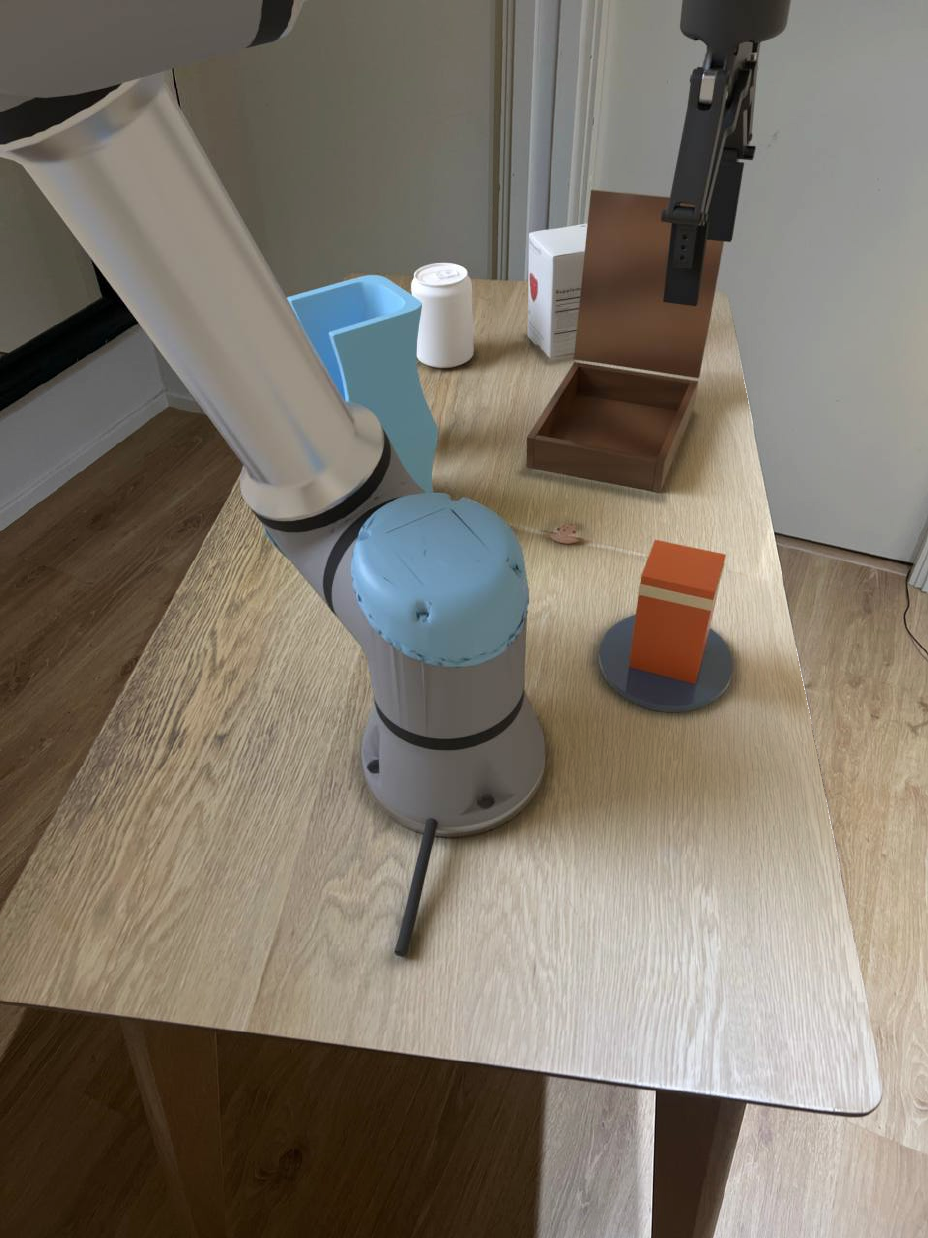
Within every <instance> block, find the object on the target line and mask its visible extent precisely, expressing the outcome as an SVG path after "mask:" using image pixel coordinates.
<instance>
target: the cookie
mask: <svg viewBox="0 0 928 1238" xmlns="http://www.w3.org/2000/svg"><path fill="white" fill-rule="evenodd" d="M576 530H577V525H575V524H573V523H565V524H562V525H561V526H558V527H556V531H557V532H555V531H547V534H548V536H549V538H551V539H552V540H553V541H555V542H557V543H561V544H566V545H567V544H575V543H578V542H580V541H582V540H583V538H582V537H577V536H572V535H574V534H576V532H577V531H576Z"/></svg>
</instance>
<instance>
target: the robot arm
mask: <svg viewBox="0 0 928 1238" xmlns="http://www.w3.org/2000/svg"><path fill="white" fill-rule="evenodd" d="M309 1H311V0H0V158H3V159H6V160H10V161H14V162H16V163H18V164H19V165H20V166H21V165H22V166H23V168H24V169H25V171H26V172H27V174H28V175H29V176H30V177H31V179H32V181H33V182H34V183H35V184H36V186H37V187H38V188H39V190H40V191H41V192H42V194H43V195H44V197H45V198H46V199H47V200H48V202H49V203H50V204H51V206H52V207H53V209H54V211H56V213H57V214H58V215H59V217H60V218H61V220H62V221H63V223H64V224H65V225H66V226H67V228H68V229H69V231H70V232H71V233H72V234H73V236H74V237H75V239H76V240H77V242H78V243H79V244H80V245H81V247H82V248H83V249H84V251H85V252H86V253H87V255H88V257H90V259H91V260H92V262H93V263H94V265H95V266H96V267H97V268H98V269H99V271H100V272H101V274H102V275H103V277H104V278H105V279H106V281H107V282H108V283H109V285H110V286H111V288H112V289H113V290H114V291H115V293H116V294H117V296H118V297H119V298H120V300H121V301H122V302H123V303H124V305H125V306H126V308H127V309H128V311H129V312H130V314H132V316H133V317H134V318H135V320H136V322H137V323H138V324H139V325H140V327H141V328H142V329H143V331H144V332H145V333H146V335H147V336H148V337H149V339H150V341H151V342H152V343H153V344H154V346H155V347H156V349H157V350H158V351H159V352H160V354H161V356H162V357H163V358H164V360H166V362H167V363H168V365H169V366H170V367H171V369H172V370H173V371H174V373H175V374H176V375H177V377H178V378H179V379H180V381H181V382H182V384H183V385H184V386H185V388H186V389H187V390H188V392H189V394H191V396H192V398H194V400H195V401H196V403H197V404H198V406H199V407H200V408H201V410H202V411H203V413H204V414H205V415H206V416H207V418H208V419H209V420H210V422H211V423H212V424H213V426H214V427H215V428H216V430H217V431H218V432H219V434H220V435H221V437H222V438H223V439H224V441H225V442H226V444H227V445H228V446H229V448H230V449H231V450H232V451H233V453H234V454H235V456H236V457H237V458H238V460H239V461H240V463H241V464H242V468H241V472H240V476H239V489H240V494H241V496H242V498H243V501H244V502H245V504H246V505H247V507H248V508H249V509H250V510H251V512H252V513H253V514H254V515H255V517H256V518H257V519H258V521H259V523H261V525H262V527H263V530H264V533H265V535H266V537H267V539H269V541H270V542H271V544H272V545H273V546H274V547H275V549H277V551H279V552H280V554H282V556H284V557H285V558H286V559H287V560H289V561H290V563H291V565H293V566H294V567H295V569H296V571H298V573H299V574H300V576H302V577H303V578H304V580H305V581H306V582H307V583H308V584H309V586H310V587H311V588H312V589H313V590H314V592H315V593H316V594H317V595H318V597H319V598H320V599H321V600H322V601H323V602H324V604H325V605H326V607H328V608H329V611H331V612H332V614H333V615H334V616H335V617H336V618H337V620H339V622H340V623H341V624H342V626H343V627H344V628H345V630H347V632H348V633H349V634H350V636H351V637H352V638H353V639H354V640H355V641H356V643H357V644H358V645H359V647H360V648H361V650H362V652H363V655H364V656H365V657H366V660H367V665H368V670H369V677H370V683H371V689H372V695H373V705H372V707H371V710H370V714H369V717H368V718H367V723H366V726H365V729H364V732H363V735H362V740H361V751H360V752H361V754H360V755H361V756H360V761H361V769H362V775H363V779H364V784H365V785H366V789H367V791H368V793H369V796H370V797H371V798H372V800H373V801H374V803H375V805H377V807H378V808H379V809H380V810H381V811H382V812H383V813H384V814H385V815H386V816H388V817H389V818H390V819H391V820H393V821H394V822H396V823H398V824H399V825H401V826H403V827H405V828H407V829H410V830H412V831H415V832H418V833H421V834H422V837H421V841H420V846H419V849H418V853H417V859H416V862H415V866H414V870H413V875H412V879H411V882H410V883H411V884H410V887H409V892H408V896H407V900H406V905H405V909H404V912H403V913H404V914H403V918H402V922H401V926H400V930H399V934H398V938H397V940H396V944H395V949H394V954H395V955H396V956H398V957H401V958H405V957H406V956H408V952H409V950H410V949H409V948H410V945H411V941H412V937H413V933H414V928H415V924H416V920H417V916H418V911H419V908H420V902H421V898H422V894H423V888H424V885H425V879H426V876H427V872H428V867H429V863H430V858H431V854H432V850H433V846H434V842H435V837H444V838H457V837H458V838H459V837H467V836H473V835H476V834H482V833H484V832H488V831H491V830H493V829H495V828H497V827H500V826H502V825H503V824H505V823H507V822H509V821H511V820H512V819H513V818H515V817H516V816H517V815H518V814H520V813H521V812H522V811H523V810H524V809H525V808H526V807H527V806H528V805H529V804H530V803H531V801H532V800H533V799H534V797H535V795H536V794H537V792H538V790H539V788H540V787H541V784H542V781H543V778H544V774H545V769H546V757H547V755H546V752H547V751H546V741H545V735H544V730H543V728H542V727H543V726H542V725H541V722H540V720H539V717H538V715H537V714H536V713H535V710H534V708H533V705H532V703H531V701H530V698H529V697H528V695H527V693H526V690H525V681H526V679H525V678H526V654H527V651H526V650H527V629H528V628H527V626H528V625H527V623H528V613H529V612H528V607H529V603H530V587H529V581H528V578H527V569H526V562H525V556H524V550H523V548H522V546H521V544H520V541H519V538H518V537H517V535H516V534H515V532H514V530H513V529H512V528H511V526H509V524H508V523H507V522H506V521H505V520H504V518H502V517H501V516H500V515H499V514H498V513H496V512H495V511H494V510H492V509H491V508H489V507H488V506H485V505H484V504H482V503H480V502H478V501H476V500H473V499H471V498H469V497H465V496H463V497H461V498H460V499H458V500H452V498H451V495H450V494H449V493H445V492H433V493H426V492H425V491H424V490H423V489H422V488H421V487H420V486H419V485H418V484H417V483H416V482H415V481H414V480H413V479H412V477H411V476H410V475H409V474H408V472H407V471H406V469H405V468H404V466H403V464H402V462H401V460H400V459H399V457H398V455H397V453H396V451H395V449H394V447H393V446H392V444H391V442H390V440H389V438H388V436H387V435H386V433H385V431H384V429H383V427H382V425H381V424H380V422H379V420H378V418H377V417H376V416H375V414H374V413H373V412H371V411H370V410H369V409H367V408H366V407H364V406H362V405H359V404H357V403H353V402H347V401H344V399H343V397H342V396H341V394H340V392H339V390H338V389H337V387H336V385H335V383H334V381H333V380H332V378H331V376H330V374H329V373H328V371H327V369H326V367H325V365H324V364H323V362H322V360H321V358H320V357H319V355H318V353H317V351H316V349H315V348H314V346H313V344H312V342H311V341H310V339H309V337H308V335H307V333H306V332H305V330H304V328H303V326H302V324H301V323H300V321H299V319H298V317H297V316H296V314H295V312H294V310H293V308H292V307H291V305H290V303H289V301H288V300H287V296H286V294H285V293H284V291H283V289H282V287H281V285H280V284H279V282H278V280H277V278H276V277H275V275H274V273H273V271H272V269H271V268H270V266H269V264H268V262H267V261H266V258H265V257H264V255H263V253H262V251H261V250H260V248H259V246H258V244H257V243H256V241H255V239H254V238H253V236H252V233H251V232H250V230H249V229H248V226H247V224H246V223H245V221H244V219H243V218H242V216H241V214H240V212H239V210H238V209H237V207H236V205H235V203H234V202H233V200H232V198H231V196H230V194H229V192H228V191H227V190H226V188H225V185H224V184H223V182H222V180H221V178H220V177H219V175H218V173H217V172H216V170H215V168H214V166H213V164H212V162H211V161H210V159H209V157H208V155H207V154H206V152H205V150H204V148H203V146H202V145H201V143H200V141H199V139H198V138H197V136H196V134H195V132H194V130H193V128H192V127H191V125H190V122H189V121H188V120H187V118H186V116H185V114H184V112H183V111H182V109H181V107H180V105H179V104H178V102H177V100H176V98H175V96H174V95H173V93H172V92H171V89H170V88H169V86H168V84H167V83H166V81H165V74H164V73H165V72H166V71H170V70H174V69H176V68H180V67H185V66H188V65H191V64H194V63H198V62H201V61H205V60H209V59H211V58H215V57H219V56H222V55H226V54H229V53H232V52H236V51H240V50H243V49H248V48H252V47H256V46H262V45H265V44H268V43H273V42H275V41H278V40H282V39H284V38H286V37H287V36H288V35H289V34H290V32H292V31H293V28H294V26H295V24H296V22H297V20H298V17H299V14H300V12H301V10H302V8H303V6H304V5H303V4H304V3H305V2H309ZM681 1H682V2H681V9H680V10H681V11H680V20H679V21H680V22H679V30H680V32H681V33H682V35H683V36H685V37H686V38H687V39H690V40H692V41H701V42H702V43H704V44H705V46H706V52H705V53H704V59H703V61H702V62H703V63H702V66H697V67H696V68H693V70H692V73H691V74H690V77H689V92H688V99H687V107H686V112H685V117H684V123H683V127H682V132H681V139H680V144H679V148H678V154H677V159H676V164H675V170H674V174H673V179H672V185H671V190H670V195H669V196H670V200H669V205H668V210H662V216H661V221H662V222H667V223H672V225H671V234H670V243H669V252H668V261H667V270H666V280H665V289H664V298H663V302H667V303H675V304H682V305H690V306H696V305H697V304H698V300H699V292H700V285H701V278H702V271H703V263H704V256H705V249H706V242H707V240H716V241H724V243H725V242H727V243H731V242H732V240H733V237H734V231H735V225H736V217H737V213H738V212H737V211H738V207H739V199H740V194H741V193H740V192H741V186H742V179H743V173H744V167H745V162H743V161H754V158H755V154H756V147H757V146H756V145H750V144H751V142H752V140H753V136H754V134H753V127H754V126H753V124H754V114H755V113H754V111H755V102H756V90H757V79H758V78H757V77H758V71H759V70H758V69H759V55H760V48H761V43H762V42H765V41H769V40H773V39H775V38H777V37H778V36H780V35H781V34H783V33H784V31H785V30H786V28H787V24H788V20H789V13H790V8H791V4H792V3H791V2H792V0H681ZM739 160H743V161H739ZM684 203H687V204H693V205H694V206H695V207H687V206H683V204H684Z"/></svg>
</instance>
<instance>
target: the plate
mask: <svg viewBox="0 0 928 1238" xmlns="http://www.w3.org/2000/svg"><path fill="white" fill-rule="evenodd" d="M635 617H636V614H634V615H630V616H628V617H625V618H623V619H622V620H619V621H618V622H616V623H615V624H614V625H612V626H611V628H609V630H607V632H606V633H605V634H604V636H603V638H602V640H601V642H600V646H599V653H598V663H599V667H600V671H601V674H602V676H603V678H604V680H605V681H606V682H607V684H608V685H609V686H610V687H611V688H612V690H614V692H616V693H617V694H618V695H619V696H621V697H622V698H623V699H624V700H627V701H629V702H631V704H632V703H633V704H634V705H637V706H639V707H642V708H644V709H649V710H652V711H657V712H664V713H665V712H666V713H683V712H684V713H685V712H690V711H695V710H698V709H701V708H704V707H706V706H707V705H710V704H712V703H713V702H715V701H717V699H719V698H720V697H721V696H722V695H723V694H724V693H725V692H726V691H727V688H728V687H729V685H730V682H731V679H732V676H733V670H734V661H733V656H732V653H731V651H730V648H729V646H728V645H727V643H726V642H725V640H724V639H723V638H722V636H721V635H719V634H718V633H717V632H716V631H715V630H714V629H713V628H711V627H710V630H709V634H708V639H707V644H706V648H705V651H704V655H703V658H702V662H701V665H700V669H699V672H698V676H697V679H696V683H695V684H693V683H689V682H685V681H681V680H677V679H673V678H669V677H665V676H661V675H657V674H653V673H649V672H645V671H641V670H638V669H634V668H630V667H629V661H630V654H631V647H632V639H633V632H634V625H635Z"/></svg>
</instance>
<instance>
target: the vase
mask: <svg viewBox="0 0 928 1238" xmlns="http://www.w3.org/2000/svg"><path fill="white" fill-rule="evenodd" d="M286 298H287V300H288V301H289V303H290V305H291V307H292V308H293V310H294V312H295V314H296V316H297V317H298V319H299V321H300V323H301V324H302V326H303V328H304V330H305V332H306V333H307V335H308V337H309V339H310V341H311V342H312V344H313V346H314V348H315V349H316V351H317V353H318V355H319V357H320V358H321V360H322V362H323V364H324V365H325V367H326V369H327V371H328V373H329V374H330V376H331V378H332V380H333V381H334V383H335V385H336V387H337V389H338V390H339V392H340V394H341V396H342V397H343V399H344V401H347V402H353V403H357V404H359V405H362V406H364V407H366V408H367V409H369V410H370V411H371V412H373V413H374V414H375V416H376V417H377V418H378V420H379V422H380V424H381V425H382V427H383V429H384V431H385V433H386V435H387V436H388V438H389V440H390V442H391V444H392V446H393V447H394V449H395V451H396V453H397V455H398V457H399V459H400V460H401V462H402V464H403V466H404V468H405V469H406V471H407V472H408V474H409V475H410V476H411V477H412V479H413V480H414V481H415V482H416V483H417V484H418V485H419V486H420V487H421V488H422V489H423V490H424V491H425V492H426V493H434V488H433V487H434V486H433V470H434V462H435V457H436V455H435V454H436V451H437V446H438V441H439V427H438V425H437V423H436V420H435V418H434V416H433V413H432V412H431V410H430V407H429V405H428V402H427V400H426V397H425V394H424V391H423V388H422V384H421V379H420V375H419V370H418V369H419V368H418V358H417V339H418V331H419V323H420V317H421V310H422V303H421V302H420V301H419V300H418V299H417V298H415V297H414V296H412V293H409V292H408V291H407V290H405V289H404V288H402V287H401V286H399V285H397V283H395V282H393V281H392V280H390V279H388V278H387V277H385V276H382V275H379V274H378V275H376V274H367V275H362V276H357V277H354V278H351V279H347V280H344V281H339V282H336V283H333V284H330V285H326V286H322V287H319V288H318V287H317V288H315V289H312V290H308V291H305V292H301V293H298V294H293V295H290V296H286Z"/></svg>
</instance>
